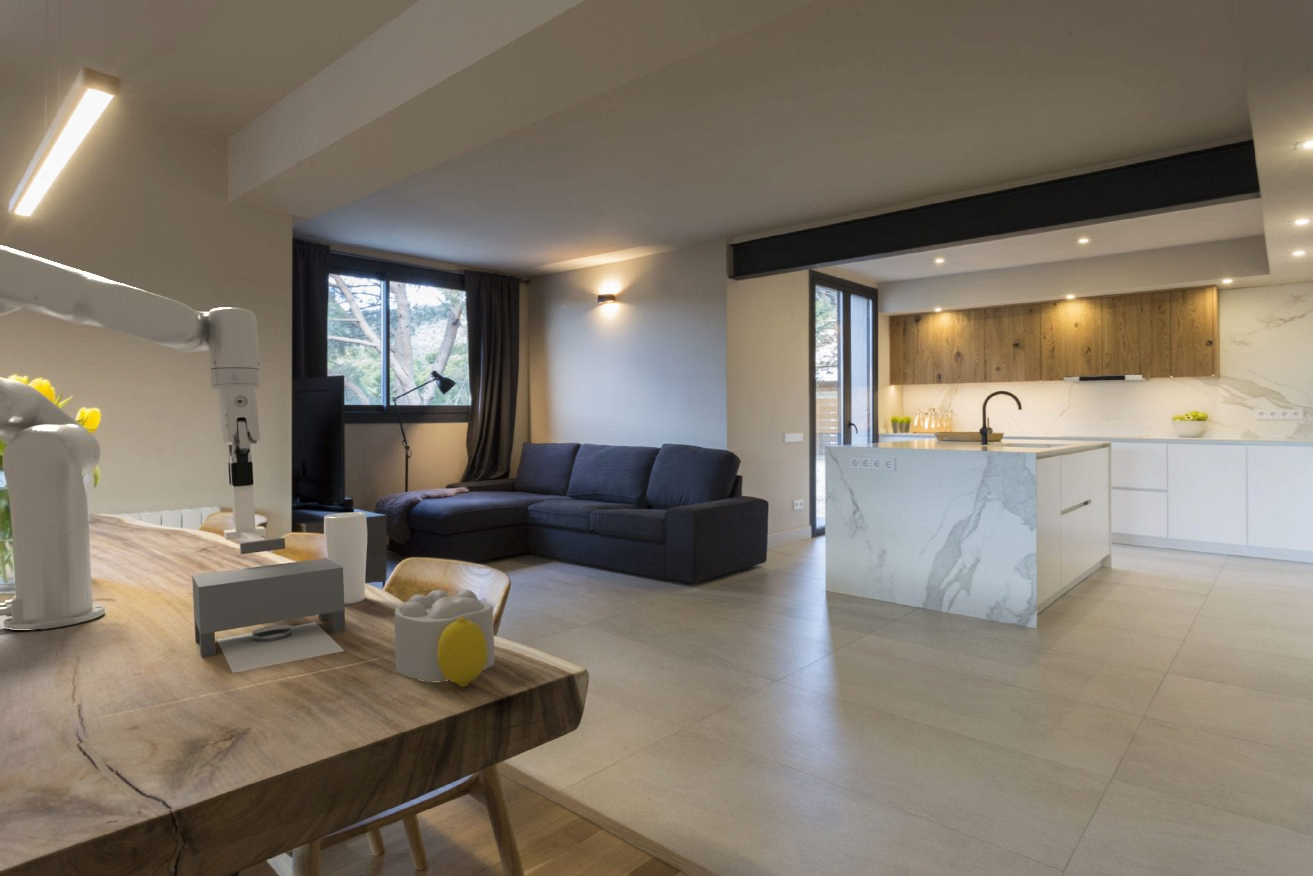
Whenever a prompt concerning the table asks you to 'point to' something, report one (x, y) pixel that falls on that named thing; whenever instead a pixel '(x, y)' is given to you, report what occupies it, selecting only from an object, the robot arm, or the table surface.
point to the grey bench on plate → (266, 597)
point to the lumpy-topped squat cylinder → (436, 630)
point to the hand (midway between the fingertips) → (241, 484)
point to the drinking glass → (348, 550)
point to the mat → (277, 648)
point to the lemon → (462, 652)
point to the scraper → (248, 523)
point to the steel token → (272, 633)
